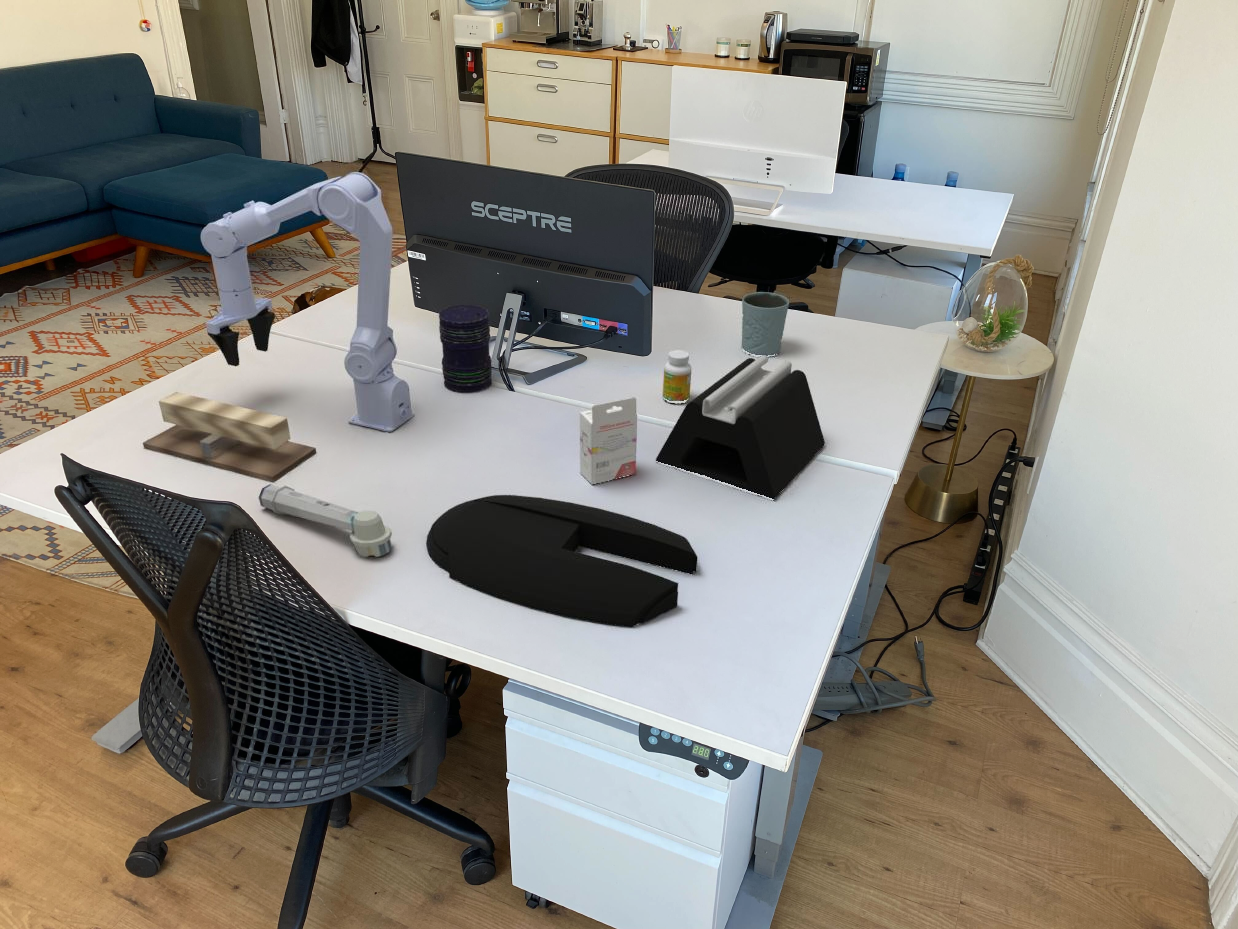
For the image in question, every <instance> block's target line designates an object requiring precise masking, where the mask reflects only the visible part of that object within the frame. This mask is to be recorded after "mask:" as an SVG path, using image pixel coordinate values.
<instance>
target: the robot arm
mask: <svg viewBox="0 0 1238 929" xmlns="http://www.w3.org/2000/svg"><path fill="white" fill-rule="evenodd" d="M243 207H244V208H242V209H240V210H237V211H235V212H231V211H229V212H227V213H224V214H223V215H222V217H223V218H222V217H221V219H218V220H216V221H213V222H209V223H208V224H207V225H206V226H205V227H203V229H202V230H201V232H200V242H201V244H202V246H203V248H204V250H205V251H206V252H207V253H209V254H210V255H211V261H212V266H213V271H214V276H215V281H216V287H217V291H218V296H219V302H220V305H221V307H219V308H218V310H219V312H218V313H217V314H216V315H215V316H213V317H212V318H211V319H210V320H208V321H206V322H205V325H206V332H207V335H208V336H209V337H210V339H212V340H213V341H214V343H215V344H216V345H217V347H218V348H219V350H220V351H221V353H222V355H223V357H224V359H225V361H226V363H227V366H234V367H239V366H240V355H239V346H238V345H239V337H240V332H239V331H235V330H233V329H232V328H230V327H231V326H234V325H237V324H238V323H240V322H242V321H245V320H246V321H247V323H248V325H249V328H250V330H251V334H252V338H253V341H254V345H255V346H254V347H255V348H256V350H257V351H260V352H267V351H268V350H269V342H270V335H271V329H272V326H273V323H274V321H275V319H276V314H275V312H272V311H270V310H272V309H273V303H272V299H271V298H267V297H261V298H258V299H255V295H254V291H253V284H252V278H251V273H250V272H251V271H250V266H249V261H248V257H247V255H248V250H247V249H248V246H250V245H254V244H255V243H258V242H259V241H263V240H264V239H266V238H269V237H272V236H274V235H275V234H277V233H278V232H279V230H280V226H281V223H282V222H285V221H287V220H290V219H293V218H296V217H298V216H300V215H303V214H305V213H307V212H310V211H312V212H313V213H314V214H316V215H317V216H320V217H321V216H322V215H324V216H325V217H326V218H327V219H328V220H329V221H331V222H332V223H334V224H335V225H337V226H339V227H340V228H342V229H344V230H345V231H347V232H348V233H350V234H351V235H352V236H354V237H355V239H357V240H358V242H359V258H358V283H357V286H358V287H357V303H356V304H357V305H356V306H357V308H356V327H355V329H354V332H353V335H352V337H351V339H350V342H349V350H348V352H347V354H346V355H345V357H344V360H343V361H344V362H343V363H344V364H343V365H344V369H345V372H346V373H347V374H348V375H349V376H350V377H351V379H353V380H352V381H353V387H354V388H353V389H354V395H355V403H356V411H357V414H355V415H353V416H352V417H351V418H349V419H348V424H353V425H358V426H361V427H362V426H363V427H365V428H371V429H374V430H379V431H382V432H383V431H384V432H387V433H391V432H393V431H394V430H396V429H397V428H399V427H400V426H401V425H403V424H404V423H405V422H407V421H408V420H410V419H411V418H412V417H414V416H415V413H414V412H413V411H412V405H411V393H410V387H409V386H410V385H409V384H408V382H407V381H406V380H404V379H401V378H399V377H398V376H397V375H395V373H394V368H393V363H392V362H394V361H395V359H396V357H397V353H398V350H397V346H396V343H395V340H394V330H393V329H392V328H391V327H390V326H389V325H388V321H389V308H390V306H389V305H390V304H389V302H390V292H391V290H390V287H391V275H392V274H391V273H392V272H391V271H392V270H391V269H392V254H393V241H394V240H393V239H394V237H393V236H394V232H393V226H392V224H391V222H390V219H389V216H388V214H387V212H386V209H385V207H384V204H383V202H382V190H381V188H380V187H379V186H378V185H377V184H376V183H375V182H374V181H373V180H372V179H371V178H370V177H369V176H367V175H366V174H365V173H362V172H359V171H358V172H357V171H354V172H350V173H347V174H346V175H345V176H344V177H342V176H338V177H333V178H330V179H329V178H328V179H327V180H323V181H319V182H317V183H314V184H313V185H309V186H308V187H306V188H304V189H302V190H299V191H297V192H295V193H293V194H292V195H289V196H288V197H286V198H284V199H282V200H279V201H278V202H276V203H274V204H269V203H267V202H263V201H257V202H256V201H254V200H251V201H249V202H246V203H244V204H243Z"/></svg>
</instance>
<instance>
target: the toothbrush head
mask: <svg viewBox="0 0 1238 929" xmlns="http://www.w3.org/2000/svg"><path fill="white" fill-rule="evenodd" d="M258 500H259V503H260V507H262V508H264V509H269V510H272V511H273V512H274V513H276V514H279V515H281V516H283V515H289V516H292V517H293V516H294V517H297V518H302V519H305V520H309V521H312V522H316V523H320V524H323V525H326V526H327V525H328V526H331V527H336V528H339V529H343V530H347V531H350V532H351V533H350V535H349V540H350V541H351V543H352V544H353V545H354V548H355V551H356V552H357V553H358V555H359V556H361V557H364V558H368V557H370V556H374V557H375V558H377V557H382V556H385V555H386V554H387V553H389V552H391V551H392V547H393V546H392V542H391V539H392V535H393V534H392V529H390V528H389V526H388V525H385V524H384V521H383V519H382V517H381V515H379V513H378V512H377V511H376V510H371V509H370V510H368V509H367V510H361V511H359V512H358V511H356V510H353V509H350V508H347V507H343V506H341V505H337V504H334V503H331V502H329V501H326V500H323V499H320V498H316V497H313V496H311V495H308V494H305V493H302V492H300V491H296V490H295V489H294V488H292V487H290V486H287V485H283V486H279V485H275V484H272V483H271V484H267V485H266V486H264V487H262V488H261V491H260V492H259V494H258Z"/></svg>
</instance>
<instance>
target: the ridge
mask: <svg viewBox="0 0 1238 929" xmlns="http://www.w3.org/2000/svg"><path fill="white" fill-rule="evenodd" d="M240 442H242V441H240V440H236V439H232V438H228V437H224V436H220V435H216V434H212V435H210V436H208V437H207V438H205V439H203V440H201V441H200V444H201V449H202V453H203V457H206V458H209V459H214V458H216V457H217V456H219V455H221V454H222V453H224V452H226V451H227V450H229V449H230V448H232V447H234V446H235V445H237V444H239V443H240Z"/></svg>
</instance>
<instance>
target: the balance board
mask: <svg viewBox="0 0 1238 929" xmlns="http://www.w3.org/2000/svg"><path fill="white" fill-rule="evenodd" d="M210 435H212V433H208V432H204V431H200V430H196V429H192V428H188V427H184V426H180V425H176V424H174V425H173V426H171V427H169V428H167V429H166V430H164V431H161V432H160V433H158V434H156V435H155V436H153V437H151V438H149V439H147V440H145V441H144V442H142V445H143V449H147V450H151V451H155V452H158V453H162V454H165V455H170V456H173V457H177V458H181V459H185V460H189V461H191V462H192V461H193V462H196V463H200V464H203V465H207V466H211V467H214V468H219V469H222V470H226V471H230V472H233V473H238V474H241V475H245V476H249V477H252V478H257V479H260V480H264V481H268V482H271V483H275V482H276V481H277V480H279V479H281V478H282V477H283V476H285V475H287V474H288V473H289V472H290V471H292V470H294V469H295V468H297V467H298V466H300V465H301V464H303V463H304V462H305V461H307V460H308V459H309V458H311V457H312V456H314V455H316V454H317V448H316V447H314V446H309V445H306V444H301V443H297V442H294V441H289V440H288V441H287V442H285V443H284V444H282V445H280V446H279V447H277V448H276V449H272V448H268V447H264V446H260V445H256V444H252V443H248V442H244V441H242V442H240V443H239V444H237V445H235V446H234V447H232V448H230V449H229V450H227V451H226V452H224V453H222V454H221V455H219V456H217V457H216V458H214V459H209V458H206V457H203V453H202V449H201V444H200V441H201V440H203V439H205V438H207V437H208V436H210Z"/></svg>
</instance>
